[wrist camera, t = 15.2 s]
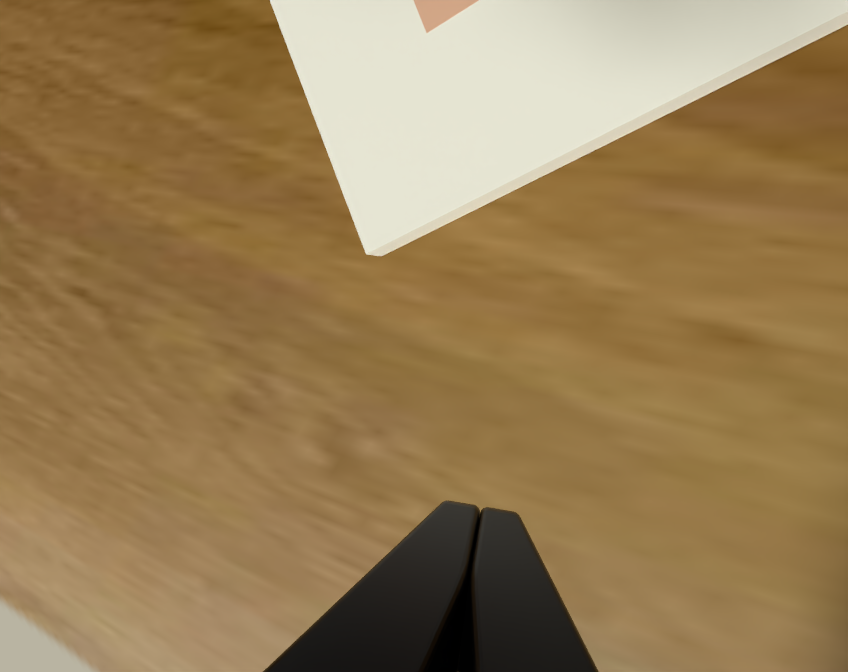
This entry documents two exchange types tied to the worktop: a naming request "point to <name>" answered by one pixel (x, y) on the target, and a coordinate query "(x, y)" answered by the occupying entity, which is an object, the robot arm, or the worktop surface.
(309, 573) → the worktop surface
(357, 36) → the domino board
